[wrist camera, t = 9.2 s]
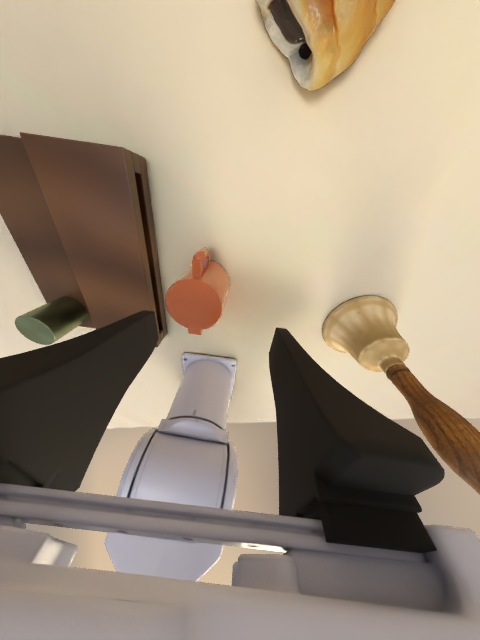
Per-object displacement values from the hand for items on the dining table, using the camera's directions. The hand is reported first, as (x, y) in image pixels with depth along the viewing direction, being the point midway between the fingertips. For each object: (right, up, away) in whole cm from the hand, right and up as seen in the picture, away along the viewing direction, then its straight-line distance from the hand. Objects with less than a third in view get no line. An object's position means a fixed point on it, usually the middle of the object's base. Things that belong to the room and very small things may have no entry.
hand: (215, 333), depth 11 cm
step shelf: (-14, +7, +9) cm, 18 cm away
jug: (-2, +5, +9) cm, 11 cm away
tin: (-19, +2, +11) cm, 22 cm away
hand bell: (+16, 0, +11) cm, 20 cm away
